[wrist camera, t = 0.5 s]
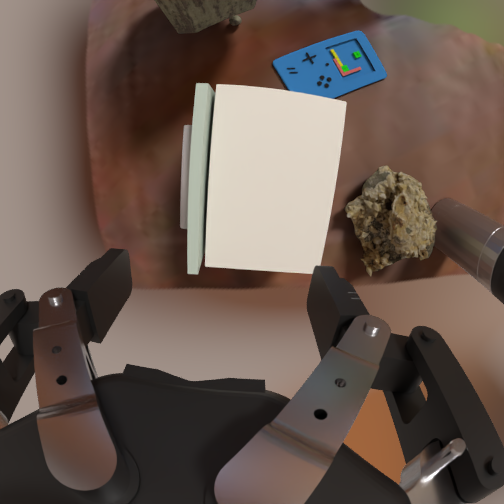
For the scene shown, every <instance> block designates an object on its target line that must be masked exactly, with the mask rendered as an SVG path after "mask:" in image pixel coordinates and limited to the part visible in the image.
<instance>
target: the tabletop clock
mask: <svg viewBox="0 0 504 504" xmlns="http://www.w3.org/2000/svg"><path fill="white" fill-rule="evenodd" d="M155 1H156V3H157V4H158V6H159V7H160V8H161V10H162V11H163V13H164V14H165V15H166V17H167V18H168V20H169V21H170V22H171V24H172V25H173V27H174V28H175V29H176V31H177V32H178V34H183V33H197V32H199V31H201V30H203V29H205V28H207V27H209V26H212V25H214V24H216V23H218V22H221V21H223V20H225V19H228V18H230V19H229V22H230V24H232V25H235V26H237V25H239V24H240V23H241V18H240V17H239V16H235V15H238V14H240V13H243V12H245V11H248V10H251V9H253V8H254V7H255V4H256V0H155Z"/></svg>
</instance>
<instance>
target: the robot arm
mask: <svg viewBox="0 0 504 504" xmlns="http://www.w3.org/2000/svg"><path fill="white" fill-rule="evenodd" d="M431 212H432V217H433V218H434V220H435V221H437V222H436V226H437V230H436V231H435V243H434V246H435V247H436V248H438V249H439V250H440V251H441V252H443V253H444V254H445V255H446V256H448V257H449V258H450V259H452V260H453V261H454V262H455V263H457V264H458V265H459V266H460V267H462V268H463V269H464V270H465V271H466V272H468V273H469V274H470V275H471V276H473V277H474V278H475V279H476V280H477V281H478V282H480V283H481V284H482V285H483V286H484V287H485V288H487V289H488V290H489V291H490V292H491V293H492V294H493V295H494V296H495V297H497V299H499V300H500V301H501V302H502V303H503V304H504V225H502V224H500V223H498V222H497V221H495V220H493V219H491V218H489V217H487V216H485V215H484V214H482V213H480V212H478V211H476V210H474V209H472V208H470V207H468V206H466V205H464V204H462V203H460V202H458V201H455V200H453V199H450V198H445V199H442V200H441V201H439V202H438V203H437V204H436V205H435V206H434V207H433V208H432V210H431ZM131 291H132V277H131V269H130V259H129V253H128V251H127V250H125V249H114V248H111V249H109V250H108V251H107V252H106V253H105V254H104V255H103V256H102V257H101V258H99V259H97V260H95V261H93V262H91V263H90V264H89V265H88V266H87V267H86V268H85V270H83V271H82V272H81V273H80V275H78V276H77V277H76V278H75V279H74V280H73V281H72V282H71V283H70V284H69V285H68V286H67V287H66V288H54V289H51V290H48V291H47V292H45V293H44V294H43V295H42V296H41V297H40V299H39V301H32V302H31V301H29V302H27V301H26V298H25V295H24V292H23V291H22V290H19V289H12V290H9V291H6V292H4V293H3V294H1V295H0V344H1V343H2V342H3V340H4V339H5V338H6V336H7V335H8V334H9V336H10V338H11V340H12V342H13V344H14V347H13V348H12V350H11V351H10V353H9V354H8V355H7V357H6V359H5V360H4V361H3V363H2V361H1V359H0V504H474V503H476V502H478V501H480V500H481V499H483V498H485V497H486V496H488V495H489V494H491V493H493V492H494V491H496V490H497V489H499V488H500V487H502V486H503V485H504V447H503V445H502V442H501V440H500V438H499V436H498V434H497V431H496V429H495V427H494V425H493V423H492V421H491V419H490V417H489V415H488V413H487V412H486V409H485V408H484V406H483V404H482V402H481V400H480V398H479V397H478V395H477V393H476V391H475V389H474V388H473V386H472V384H471V382H470V381H469V379H468V377H467V376H466V374H465V372H464V371H463V369H462V367H461V366H460V364H459V362H458V361H457V359H456V358H455V356H454V355H453V354H452V352H451V350H450V348H449V347H448V345H447V344H446V342H445V341H444V339H443V338H442V337H441V335H440V334H439V333H438V332H436V331H435V330H433V329H431V328H428V327H425V326H417V327H415V328H413V330H412V331H411V334H410V335H409V337H407V336H402V335H397V334H393V333H391V329H390V327H389V325H388V324H387V323H386V322H385V321H383V320H382V319H380V318H378V317H375V316H372V315H370V314H369V313H368V311H367V309H366V308H365V306H364V304H363V302H362V301H361V299H360V298H359V296H358V294H357V293H356V291H355V289H354V287H353V286H352V285H351V284H350V283H349V282H348V281H346V280H345V279H344V278H340V277H339V276H338V274H337V272H336V270H335V269H334V267H332V266H318V265H316V266H315V267H314V270H313V275H312V279H311V284H310V288H309V294H308V298H307V312H308V315H309V318H310V321H311V325H312V329H313V332H314V335H315V339H316V342H317V346H318V349H319V352H320V356H321V362H320V363H319V365H318V366H317V367H316V369H315V370H314V371H313V373H312V374H311V375H310V377H309V378H308V379H307V380H306V382H305V383H304V384H303V385H302V387H301V388H300V389H299V390H298V392H297V393H296V395H295V396H294V397H293V398H292V399H291V400H290V399H289V398H287V397H285V396H282V395H280V394H277V393H274V392H272V391H268V390H265V380H255V379H237V378H225V379H216V380H205V381H188V380H185V379H182V378H180V377H177V376H174V375H171V374H169V373H166V372H163V371H161V370H158V369H152V368H146V367H140V366H135V365H130V364H127V365H126V367H125V369H124V372H123V373H118V374H110V375H105V376H102V377H98V376H97V373H96V370H95V367H94V364H93V360H92V357H91V353H90V350H89V347H88V343H89V342H90V341H92V342H96V343H101V342H102V341H103V339H104V337H105V336H106V334H107V332H108V330H109V329H110V327H111V325H112V324H113V322H114V320H115V319H116V317H117V315H118V314H119V312H120V311H121V309H122V307H123V306H124V304H125V302H126V301H127V299H128V298H129V296H130V294H131ZM34 373H35V378H36V388H37V395H38V402H39V409H38V410H36V411H34V412H32V413H31V414H29V415H27V416H25V417H23V418H21V419H19V420H17V421H15V422H13V423H11V424H9V425H8V423H9V421H10V419H11V417H12V414H13V412H14V410H15V408H16V406H17V404H18V402H19V400H20V398H21V396H22V395H23V393H24V391H25V389H26V387H27V385H28V383H29V381H30V380H31V378H32V376H33V375H34ZM422 381H423V382H424V385H425V386H426V389H427V392H428V397H427V401H426V400H425V397H424V395H423V393H422V391H421V389H420V386H419V385H420V384H421V382H422ZM370 388H372V389H378V390H383V392H384V395H385V397H386V401H387V404H388V407H389V410H390V412H391V416H392V419H393V422H394V425H395V428H396V431H397V434H398V438H399V441H400V444H401V448H402V451H403V455H404V458H405V462H406V465H405V467H404V468H403V470H402V473H401V482H400V484H399V485H398V484H397V483H396V482H394V481H393V480H391V479H390V478H389V477H387V476H385V475H384V474H383V473H381V472H380V471H379V470H378V469H376V468H375V467H373V466H372V465H371V464H370V463H368V462H367V461H366V460H364V459H363V458H362V457H360V456H359V455H358V454H357V453H355V452H354V451H353V450H351V449H350V448H349V447H348V446H347V445H345V444H344V443H343V441H344V439H345V437H346V436H347V434H348V432H349V430H350V428H351V426H352V425H353V423H354V421H355V419H356V417H357V415H358V413H359V411H360V409H361V407H362V405H363V403H364V401H365V399H366V397H367V394H368V392H369V390H370Z"/></svg>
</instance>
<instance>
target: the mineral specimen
mask: <svg viewBox="0 0 504 504" xmlns="http://www.w3.org/2000/svg"><path fill="white" fill-rule="evenodd" d="M421 186H422V183H419V182H418V181H417V180H415V179H414V178H413V177H411V176H409V175H407V174H405V173H402V172H399V173H396V172H393V171H391V169H390V168H389V167H388V166H382V167H379V168H378V170H377V171H376V172H375V173H374V174H373V175H372V176H370V178H369V179H367V180H366V182H365V184H364V185H363V188H362V195H360V196H358V197H357V198H356V199H355V200H354V201H351V202H349V203H348V204H347V205H346V207H345V209H344V210H345V212H346V213H347V217H349V218H351V220H352V222H353V224H354V229H355V235H356V237H357V238H358V239H359V240H360V242H361V245H362V247H363V251H364V255H363V257H364V258H362V259H361V260H362V261H363V262H364V265H365V266H366V272H368V274H369V275H370V276H371V275H372V271H379V270H380V269H382V268H383V267H385V266H388V265H391V264H393V263H395V262H397V261H399V260H401V259H403V258H410V257H419V258H420V261H421V260H423V259H425V258H429V256H430V255H431V253H432V249H433V245H434V243H435V231H436V230H437V226H436V222H437V221H435V220H434V218H433V217H432V212H431V210H430V207H429V203H428V202H427V201H426V198H428V197H426V196H425V193H424V191H423V190H422V188H421Z"/></svg>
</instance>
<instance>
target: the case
mask: <svg viewBox="0 0 504 504" xmlns="http://www.w3.org/2000/svg"><path fill="white" fill-rule="evenodd" d="M345 112H346V102H345V101H340V100H336V99H331V98H326V97H321V96H316V95H311V94H305V93H299V92H293V91H286V90H279V89H271V88H262V87H252V86H239V85H222V84H217V86H216V95H215V105H214V116H213V127H212V139H211V152H210V166H209V182H208V200H207V222H206V250H205V266H206V267H219V268H233V269H247V270H261V271H277V272H292V273H309V274H313V270H314V267H315V266H316V265H318V266H320V264H321V259H322V255H323V250H324V245H325V240H326V235H327V230H328V225H329V220H330V214H331V209H332V203H333V197H334V191H335V185H336V179H337V173H338V166H339V159H340V152H341V145H342V137H343V129H344V121H345Z"/></svg>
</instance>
